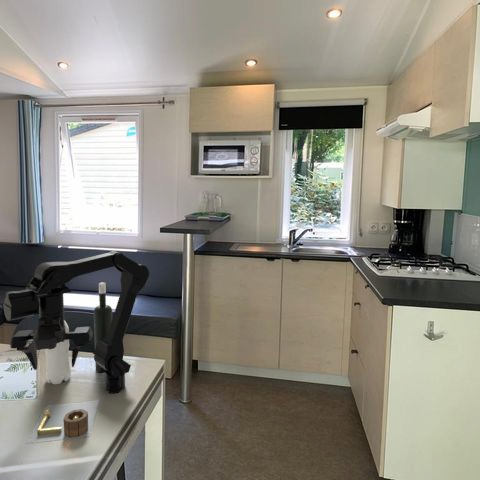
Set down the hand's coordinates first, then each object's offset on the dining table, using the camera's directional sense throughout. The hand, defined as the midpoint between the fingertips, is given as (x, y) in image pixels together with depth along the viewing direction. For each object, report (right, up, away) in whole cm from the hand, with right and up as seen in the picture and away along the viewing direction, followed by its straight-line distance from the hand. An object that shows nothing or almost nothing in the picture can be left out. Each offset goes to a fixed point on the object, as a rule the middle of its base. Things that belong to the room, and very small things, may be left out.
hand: (54, 367), depth 99 cm
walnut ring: (+9, -13, -7) cm, 17 cm away
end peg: (+9, -14, -7) cm, 18 cm away
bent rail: (+2, -13, -4) cm, 14 cm away
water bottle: (-8, -11, +18) cm, 23 cm away
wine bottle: (+4, -10, +27) cm, 29 cm away
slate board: (+4, -14, -2) cm, 14 cm away
